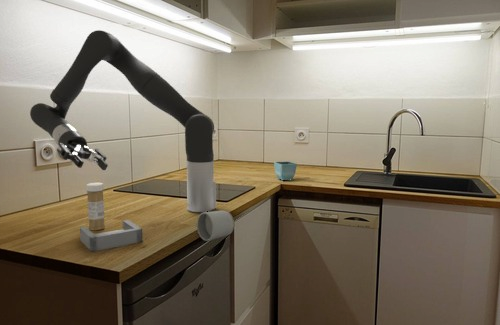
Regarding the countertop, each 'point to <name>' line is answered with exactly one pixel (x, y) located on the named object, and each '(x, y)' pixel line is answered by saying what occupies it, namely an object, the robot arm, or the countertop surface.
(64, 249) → the countertop surface
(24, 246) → the countertop surface
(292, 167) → the flower pot
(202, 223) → the ceramic mug
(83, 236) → the bay
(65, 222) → the countertop surface
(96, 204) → the sprinkles bottle
